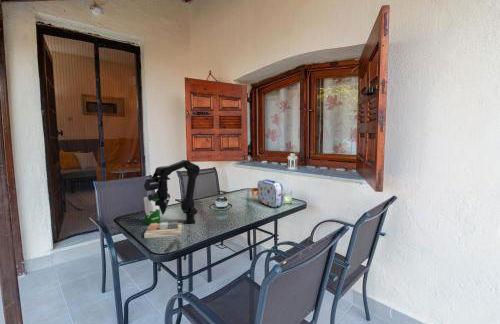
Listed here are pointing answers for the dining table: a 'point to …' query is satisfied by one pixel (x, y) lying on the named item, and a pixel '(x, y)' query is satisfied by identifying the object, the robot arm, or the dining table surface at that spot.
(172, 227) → the key charcoal
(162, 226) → the key grey
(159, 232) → the keypad board
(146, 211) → the milk carton
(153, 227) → the key terracotta
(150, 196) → the robot arm
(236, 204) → the dining table surface
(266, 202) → the lunch box
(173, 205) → the dining table surface
